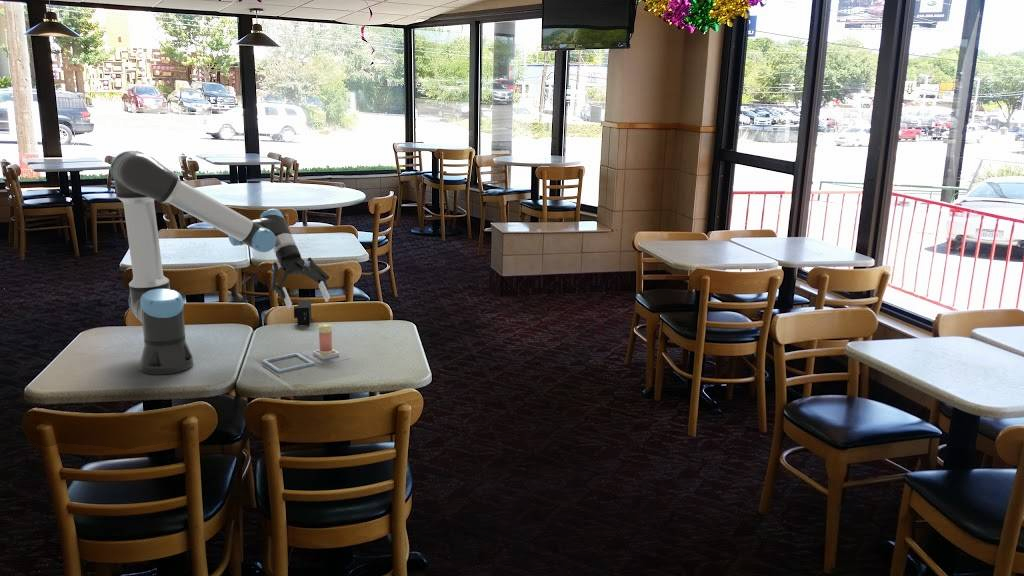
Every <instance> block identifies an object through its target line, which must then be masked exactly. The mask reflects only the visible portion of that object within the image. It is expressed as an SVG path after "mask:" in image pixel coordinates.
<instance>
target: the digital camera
mask: <svg viewBox="0 0 1024 576" xmlns="http://www.w3.org/2000/svg"><path fill="white" fill-rule="evenodd" d="M293 318H294V319H297V326H298V325H306V326H307V327H309V326H310V325H311V321H312V300H311V299H309V300H305V299H304V300H300V299H299V301H298V304H297V305H295V306H293Z"/></svg>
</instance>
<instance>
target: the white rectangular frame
mask: <svg viewBox="0 0 1024 576" xmlns="http://www.w3.org/2000/svg"><path fill="white" fill-rule="evenodd" d="M332 349H333V353H332V354H327V355H321V354H319V348H317V349H313V350H308V351H304V352H301V353H302V354H304V355H305V356H306V357H308V358H310V359H311V360H314V361H316V362H318V364H320V365H327V364H331V363H336V362H340V361H344V360H345V361H346V360H349V359H351V357H350V356H348V355H345V353H342V352H340V351H338V350H337V349H335V348H333V347H332Z"/></svg>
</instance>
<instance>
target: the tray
mask: <svg viewBox="0 0 1024 576" xmlns="http://www.w3.org/2000/svg"><path fill="white" fill-rule="evenodd" d="M293 357H297V358H298V359H300V360H302V361H304V362H306V363H303V364H299V365H294V366H289V367H288V366H287V367H284V368H278V367H277V366H275V365H274V364H272V363H270V362H274V361H279V360H284V359H288V358H293ZM261 363H262V364H264V365H266V366H267V367H269V368H270V369H271V370H270V369H269V368H267V367H266V366H264V365H262V367H263V369H265V370H267V371H268V372H269V373H271V374H273V375H274V376H275V377H278V378H280V376H279V375H278V374H280V373H284V372H285V373H286V372H290V371H294V370H297V369H302V368H307V367H312V366H315V362H314V361H312V359H311V360H310V359H309V358H307V357H305V356H304V355H302V354H300V353H299V352H294V353H290V354H289V353H288V354H285V355H279V356H274V357H271V358H265V359H262V360H261ZM272 370H274V371H275V372H277V373H278V374H276V373H275V372H273V371H272Z"/></svg>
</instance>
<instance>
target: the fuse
mask: <svg viewBox="0 0 1024 576" xmlns="http://www.w3.org/2000/svg"><path fill="white" fill-rule="evenodd" d="M318 345H319V348H318V349H319V354H321V355H327V354H332V353H333V349H334V348H333V325H332V324H331V323H320V324H318ZM332 348H333V349H332Z"/></svg>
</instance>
